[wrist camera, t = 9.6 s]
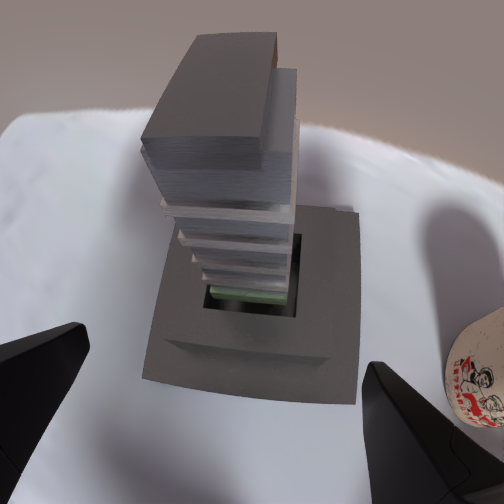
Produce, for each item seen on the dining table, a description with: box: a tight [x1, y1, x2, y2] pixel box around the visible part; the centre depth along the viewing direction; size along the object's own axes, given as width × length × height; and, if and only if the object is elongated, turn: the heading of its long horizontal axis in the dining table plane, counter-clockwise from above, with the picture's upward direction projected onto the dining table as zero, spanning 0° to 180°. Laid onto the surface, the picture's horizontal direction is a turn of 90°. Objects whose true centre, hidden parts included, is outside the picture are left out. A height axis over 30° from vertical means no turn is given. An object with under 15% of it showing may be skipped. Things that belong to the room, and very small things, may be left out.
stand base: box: [142, 205, 361, 405], centre depth 20 cm, size 14×14×6 cm
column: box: [140, 32, 300, 305], centre depth 12 cm, size 5×4×12 cm
